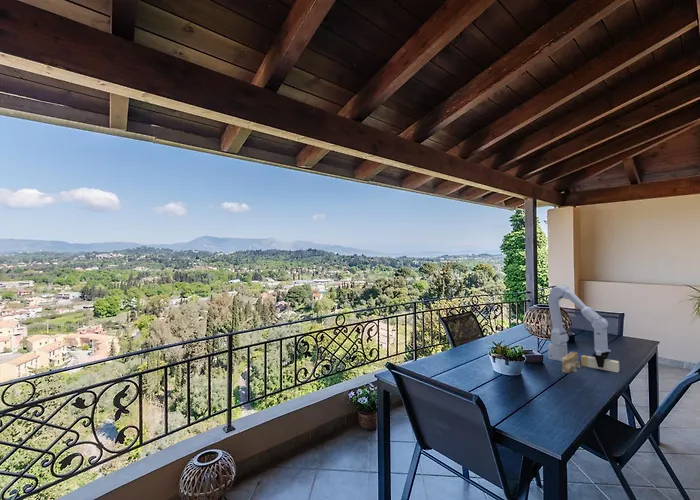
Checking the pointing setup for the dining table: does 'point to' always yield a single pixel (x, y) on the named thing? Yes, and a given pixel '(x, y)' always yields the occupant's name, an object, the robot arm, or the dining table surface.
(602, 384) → the dining table surface
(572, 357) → the post
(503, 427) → the dining table surface
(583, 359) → the rail
